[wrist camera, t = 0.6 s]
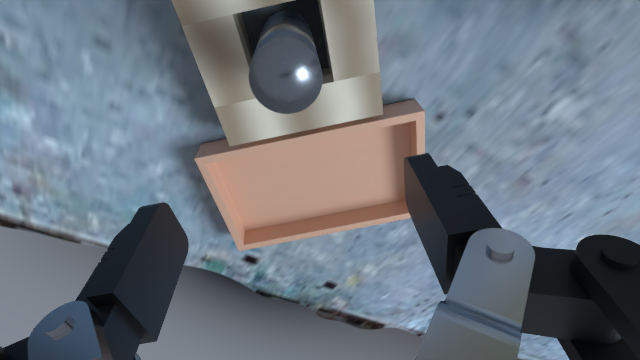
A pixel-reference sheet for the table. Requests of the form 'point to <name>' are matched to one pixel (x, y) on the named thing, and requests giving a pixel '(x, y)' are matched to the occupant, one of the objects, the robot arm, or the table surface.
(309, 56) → the steel pin
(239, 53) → the block
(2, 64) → the table surface
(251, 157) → the tray
